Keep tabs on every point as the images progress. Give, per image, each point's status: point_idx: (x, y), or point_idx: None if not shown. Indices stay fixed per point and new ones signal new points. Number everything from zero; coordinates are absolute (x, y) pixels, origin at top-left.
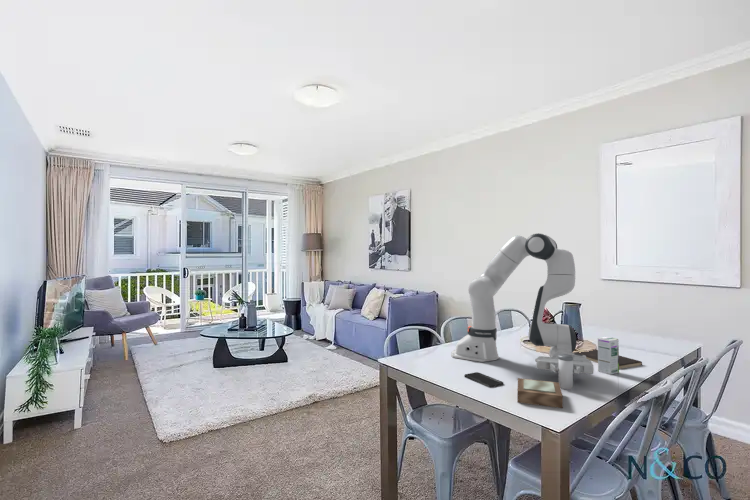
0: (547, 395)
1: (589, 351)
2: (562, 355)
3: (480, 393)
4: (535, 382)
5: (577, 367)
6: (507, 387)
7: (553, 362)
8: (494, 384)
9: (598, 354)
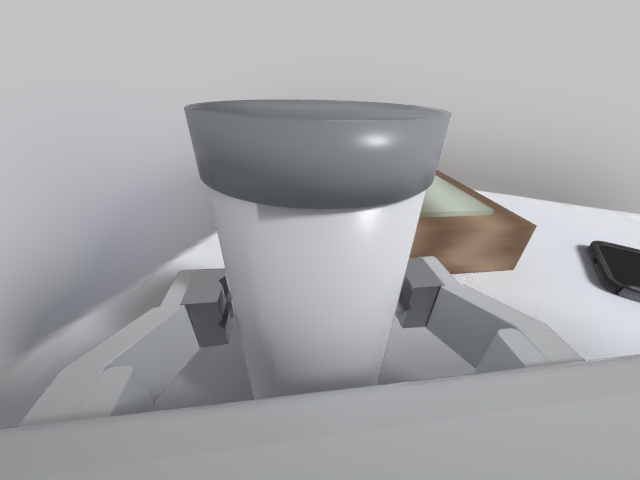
0: None
1: None
2: (370, 107)
3: (545, 212)
4: (431, 200)
5: (141, 330)
6: (554, 268)
7: (549, 364)
8: (606, 257)
9: None
